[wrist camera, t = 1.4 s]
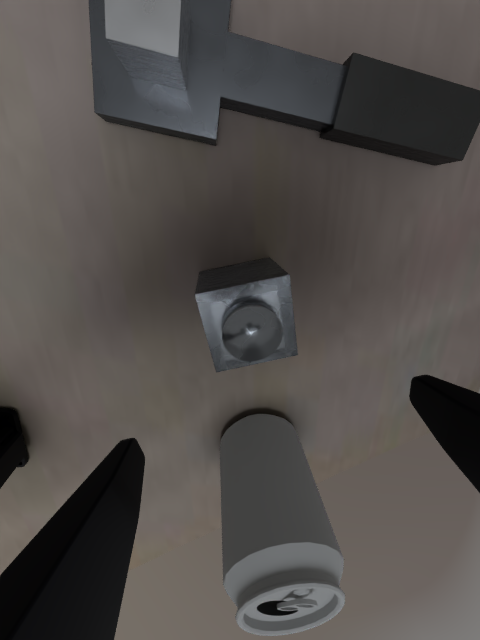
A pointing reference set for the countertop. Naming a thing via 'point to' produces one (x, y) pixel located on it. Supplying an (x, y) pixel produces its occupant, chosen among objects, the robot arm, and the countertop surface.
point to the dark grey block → (247, 313)
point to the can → (275, 531)
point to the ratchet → (264, 84)
